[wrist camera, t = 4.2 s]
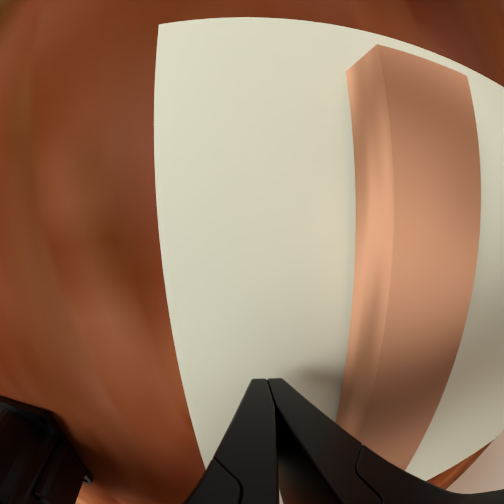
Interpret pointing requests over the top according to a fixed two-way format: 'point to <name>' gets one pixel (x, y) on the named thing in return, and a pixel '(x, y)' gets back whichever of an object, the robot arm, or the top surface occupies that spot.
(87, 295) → the top surface
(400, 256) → the link
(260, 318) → the base board
